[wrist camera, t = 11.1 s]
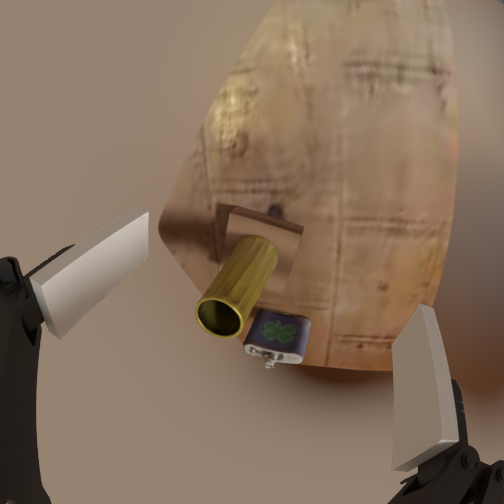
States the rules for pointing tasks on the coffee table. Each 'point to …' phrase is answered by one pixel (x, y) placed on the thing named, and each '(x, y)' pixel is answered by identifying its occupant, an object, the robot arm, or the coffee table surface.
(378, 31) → the coffee table surface
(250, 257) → the vase
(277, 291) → the plinth
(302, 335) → the flask
